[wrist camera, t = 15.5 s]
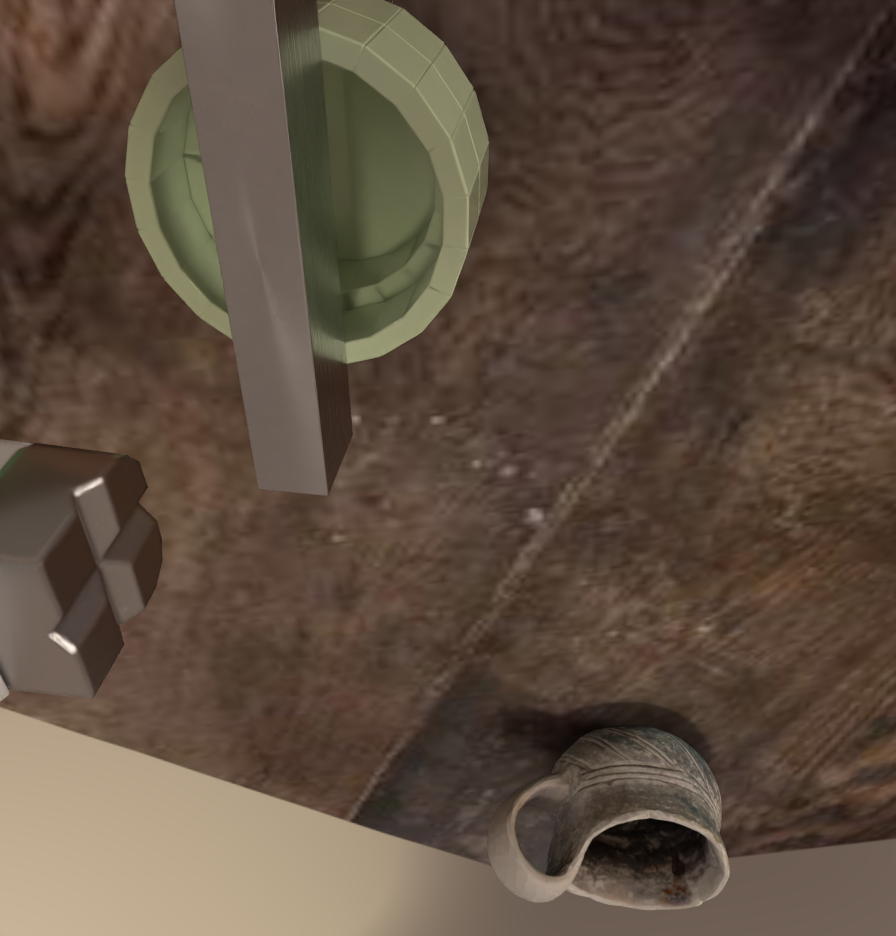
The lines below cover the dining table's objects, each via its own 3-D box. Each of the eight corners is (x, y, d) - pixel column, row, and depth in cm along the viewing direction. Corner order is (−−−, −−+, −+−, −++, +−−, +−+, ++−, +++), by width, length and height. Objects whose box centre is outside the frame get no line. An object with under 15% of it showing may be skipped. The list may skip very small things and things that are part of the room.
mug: (682, 813, 52) (694, 990, 45) (482, 765, 52) (460, 933, 45) (744, 721, 46) (771, 908, 39) (519, 667, 46) (500, 843, 39)
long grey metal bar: (216, -97, 21) (158, -82, 19) (309, -96, 21) (264, -81, 18) (288, 429, 31) (257, 489, 28) (353, 435, 31) (328, 496, 28)
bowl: (173, -21, 28) (86, 14, 23) (495, -12, 27) (471, 26, 22) (224, 278, 35) (164, 353, 30) (486, 296, 33) (465, 377, 29)
